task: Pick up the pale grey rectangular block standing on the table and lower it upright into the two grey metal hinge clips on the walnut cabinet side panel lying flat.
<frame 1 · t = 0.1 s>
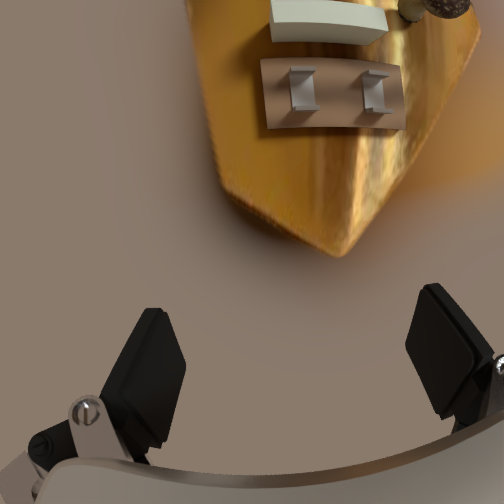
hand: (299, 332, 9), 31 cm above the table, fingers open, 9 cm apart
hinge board: (335, 93, 31), on the table
pale grey rectangular block: (319, 32, 27), on the table
mushroom: (402, 14, 24), on the table
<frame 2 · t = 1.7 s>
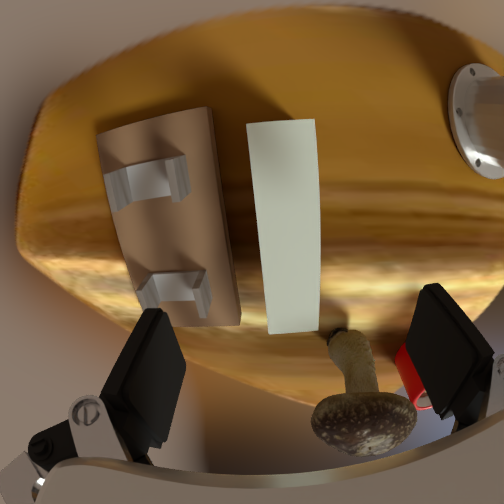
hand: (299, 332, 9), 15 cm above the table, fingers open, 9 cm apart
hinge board: (173, 227, 24), on the table
mug: (421, 339, 30), on the table
pale grey rectangular block: (282, 205, 23), on the table
mushroom: (342, 331, 29), on the table
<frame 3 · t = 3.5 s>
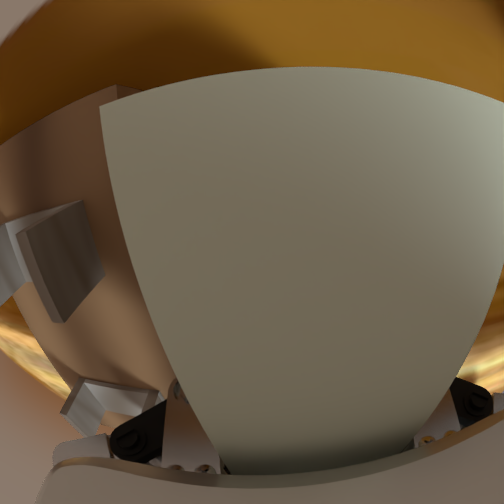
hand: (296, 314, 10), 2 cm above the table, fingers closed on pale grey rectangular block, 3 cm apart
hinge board: (103, 315, 13), on the table
pale grey rectangular block: (293, 291, 12), on the table, touching gripper
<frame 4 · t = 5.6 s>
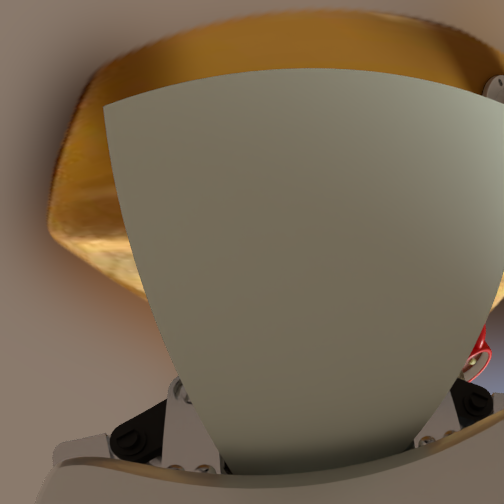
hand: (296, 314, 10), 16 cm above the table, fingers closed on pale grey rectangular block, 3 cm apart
mug: (450, 322, 30), on the table
pale grey rectangular block: (293, 292, 12), point 14 cm above the table, touching gripper
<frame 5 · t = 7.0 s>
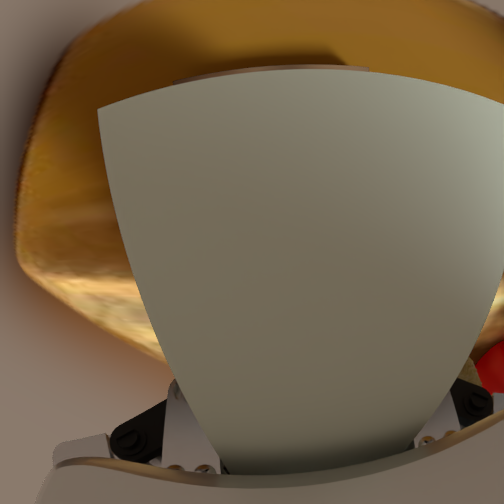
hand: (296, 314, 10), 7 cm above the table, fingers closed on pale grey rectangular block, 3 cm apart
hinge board: (286, 238, 17), on the table
mug: (494, 351, 22), on the table
pale grey rectangular block: (293, 292, 12), point 6 cm above the table, touching gripper
mushroom: (440, 352, 22), on the table
when the fingers open (4 cm above the table, at t = 7.9 s): pale grey rectangular block stays where it is, resting on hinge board.
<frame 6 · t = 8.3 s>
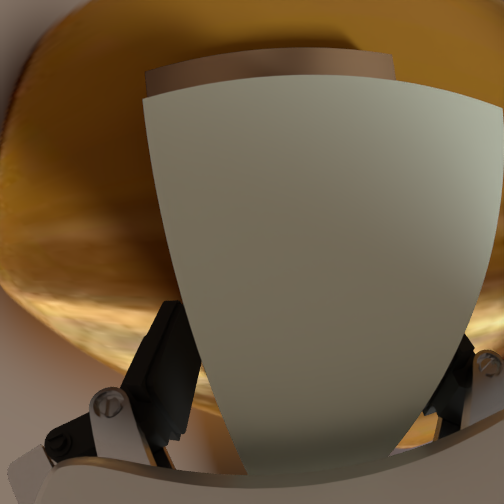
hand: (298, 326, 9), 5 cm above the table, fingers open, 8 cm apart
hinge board: (288, 263, 14), on the table
pale grey rectangular block: (296, 286, 12), point 2 cm above the table, touching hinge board
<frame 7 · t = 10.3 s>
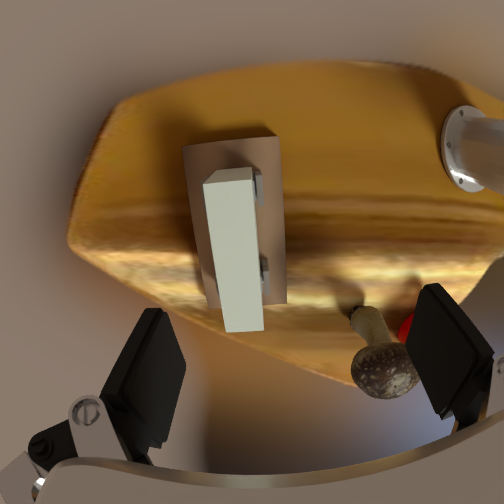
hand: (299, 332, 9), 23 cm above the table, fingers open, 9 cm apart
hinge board: (239, 225, 32), on the table
pale grey rectangular block: (240, 232, 30), point 2 cm above the table, touching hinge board
mushroom: (359, 308, 37), on the table
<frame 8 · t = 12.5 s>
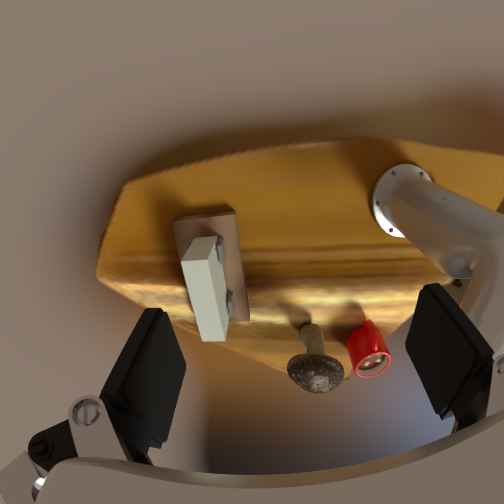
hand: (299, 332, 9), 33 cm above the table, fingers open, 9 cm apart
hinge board: (214, 269, 46), on the table
mug: (363, 332, 52), on the table
pale grey rectangular block: (213, 276, 44), point 2 cm above the table, touching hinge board
mushroom: (308, 324, 51), on the table
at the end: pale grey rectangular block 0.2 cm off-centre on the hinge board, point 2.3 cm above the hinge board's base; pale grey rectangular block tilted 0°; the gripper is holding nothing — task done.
